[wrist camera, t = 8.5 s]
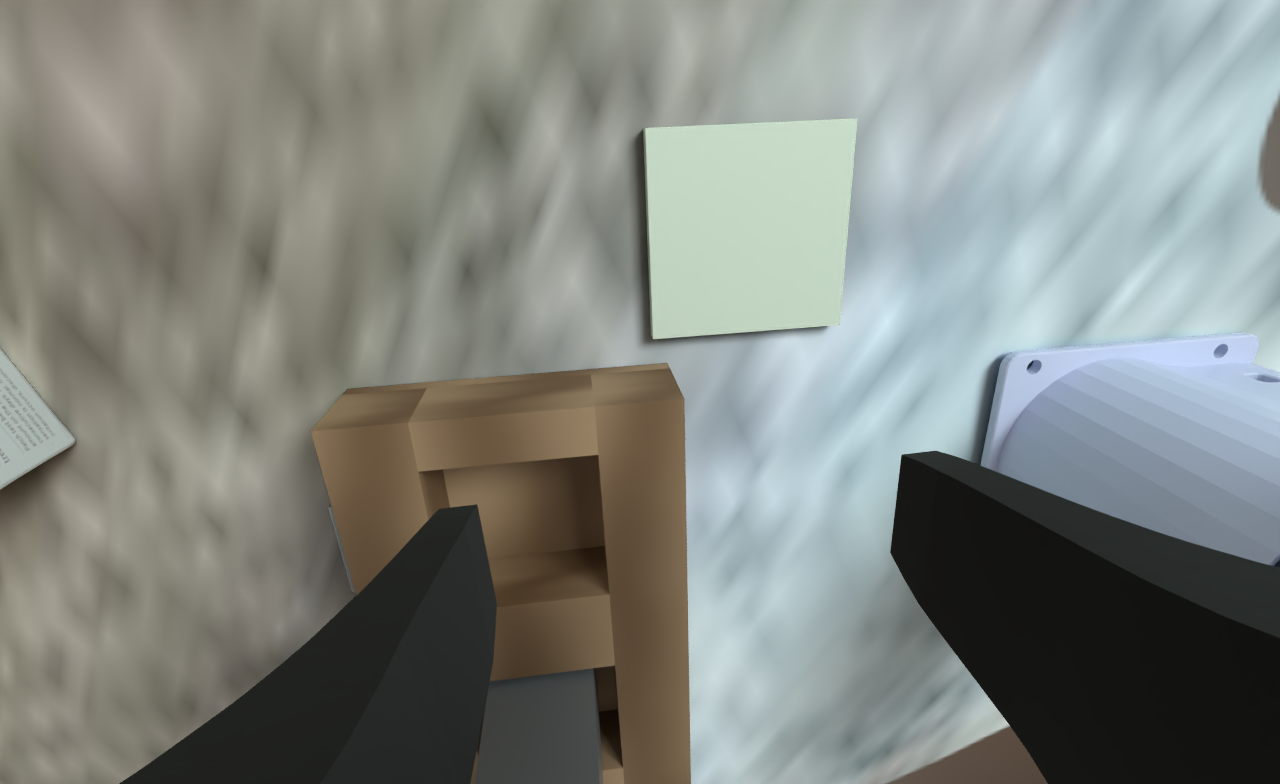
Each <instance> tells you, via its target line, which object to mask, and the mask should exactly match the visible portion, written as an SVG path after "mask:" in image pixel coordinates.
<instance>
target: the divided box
mask: <svg viewBox="0 0 1280 784" xmlns="http://www.w3.org/2000/svg"><path fill="white" fill-rule="evenodd" d="M311 435H312V438H313V442H314V445H315V449H316V452H317V456H318V460H319V463H320V467H321V470H322V474H323V477H324V481H325V485H326V488H327V492H328V495H329V499H330V502H331V505H330V506H329V508H328V509H329V513H330V516H331V520H332V524H333V527H334V531H335V534H336V538H337V541H338V545H339V548H340V552H341V555H342V559H343V562H344V566H345V569H346V573H347V576H348V580H349V584H350V587H351V591H352V593H354V592H356V595H358V594H359V593H360V592H361V591H362V590H363V589H364V588H365V587H366V586H367V585H368V584H369V583H370V582H371V581H372V580H373V579H374V578H375V576H376V575H377V574H378V573H379V572H380V571H381V570H382V569H383V568H384V567H385V566H386V565H387V564H388V563H389V562H390V561H391V560H392V559H393V558H394V557H395V556H396V554H397V553H398V552H399V551H400V550H401V549H402V548H403V547H404V546H405V545H406V544H407V543H408V542H409V540H410V539H411V538H412V537H413V536H414V535H415V534H416V533H417V532H418V531H419V530H420V528H421V527H422V526H423V525H424V524H425V523H426V522H427V521H428V520H429V519H430V518H431V517H432V516H433V515H434V514H435V513H436V512H437V511H438V510H439V509H442V508H450V507H459V506H467V505H476V504H477V505H478V510H479V515H480V520H481V525H482V531H483V536H484V541H485V546H486V551H487V556H488V561H489V566H490V571H491V576H492V581H493V586H494V591H495V597H496V602H497V612H496V630H495V644H494V658H493V666H492V672H491V677H490V681H496V680H504V679H512V678H520V677H528V676H536V675H544V674H552V673H560V672H568V671H576V670H584V669H592V668H595V670H596V680H597V690H598V706H599V722H600V738H601V754H602V770H603V784H691V773H690V713H689V654H688V594H687V534H686V475H685V415H684V397H683V395H682V393H681V391H680V389H679V387H678V385H677V382H676V380H675V378H674V376H673V374H672V372H671V370H670V368H669V366H668V363H661V364H649V365H636V366H624V367H612V368H599V369H587V370H575V371H562V372H550V373H538V374H525V375H513V376H500V377H488V378H476V379H463V380H451V381H439V382H426V383H414V384H402V385H389V386H377V387H364V388H352V389H347V390H346V391H345V392H344V394H343V395H342V396H341V397H340V398H339V399H338V400H337V402H336V403H335V404H334V405H333V406H332V407H331V408H330V410H329V411H328V412H327V413H326V414H325V415H324V416H323V418H322V419H321V420H320V421H319V422H318V423H317V424H316V426H315V427H314V428H313V429H312V430H311ZM485 705H486V704H485ZM484 713H485V710H484ZM483 720H484V715H483ZM483 720H482V725H481V730H480V736H479V741H478V746H477V751H476V756H475V762H474V767H473V772H472V777H471V782H470V784H475V778H476V770H477V763H478V756H479V749H480V742H481V734H482V727H483Z"/></svg>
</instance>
